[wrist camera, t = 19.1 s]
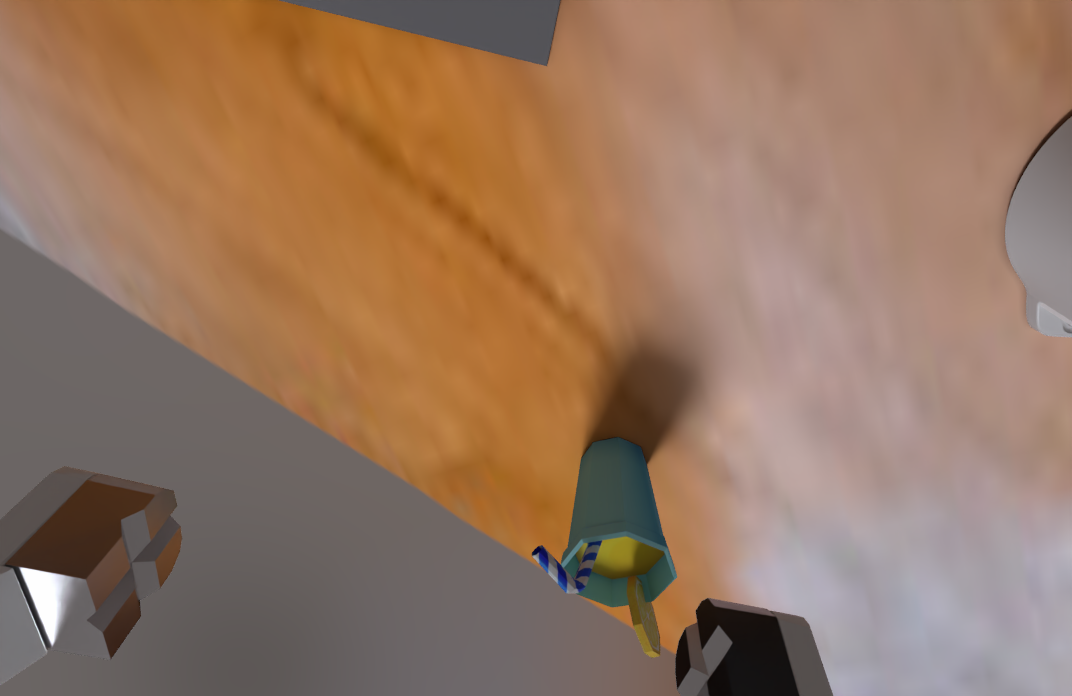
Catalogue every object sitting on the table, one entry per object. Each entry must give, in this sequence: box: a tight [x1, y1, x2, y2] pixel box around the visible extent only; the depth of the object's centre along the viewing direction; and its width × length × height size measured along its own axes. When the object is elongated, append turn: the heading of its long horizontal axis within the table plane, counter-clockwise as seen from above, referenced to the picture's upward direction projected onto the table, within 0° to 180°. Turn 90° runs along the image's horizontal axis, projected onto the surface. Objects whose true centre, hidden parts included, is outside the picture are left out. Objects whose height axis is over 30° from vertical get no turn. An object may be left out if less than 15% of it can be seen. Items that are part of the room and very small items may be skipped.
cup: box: [532, 437, 677, 658], centre depth 43 cm, size 14×8×15 cm, turn 42°
